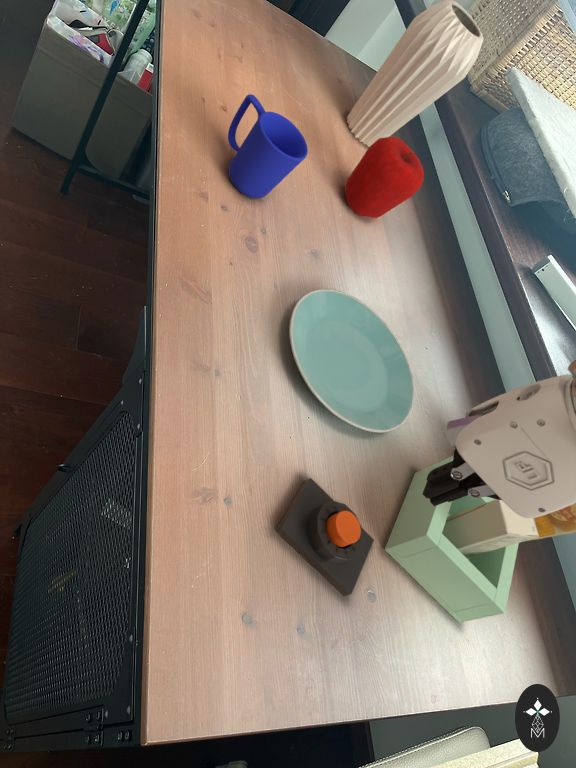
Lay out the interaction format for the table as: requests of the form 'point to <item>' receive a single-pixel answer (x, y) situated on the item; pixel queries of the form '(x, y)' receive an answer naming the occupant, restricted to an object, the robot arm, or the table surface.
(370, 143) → the vase
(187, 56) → the table surface
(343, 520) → the button
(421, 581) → the mint green storage bin
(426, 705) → the table surface
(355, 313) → the plate
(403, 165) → the apple
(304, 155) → the mug
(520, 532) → the cosmetic box
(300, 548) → the block
